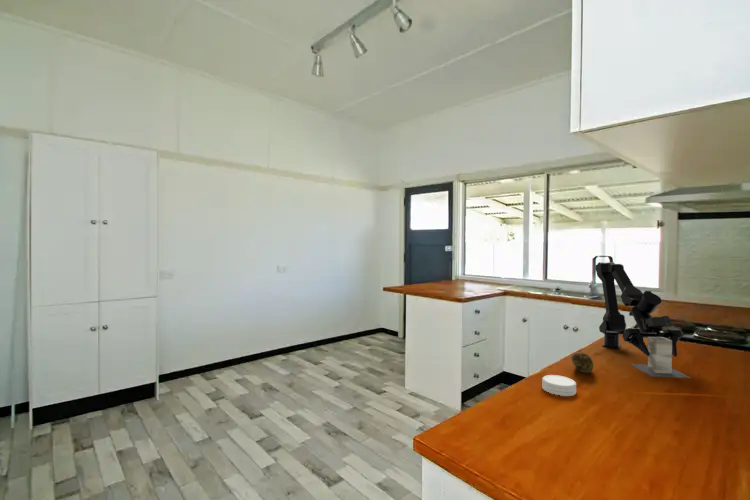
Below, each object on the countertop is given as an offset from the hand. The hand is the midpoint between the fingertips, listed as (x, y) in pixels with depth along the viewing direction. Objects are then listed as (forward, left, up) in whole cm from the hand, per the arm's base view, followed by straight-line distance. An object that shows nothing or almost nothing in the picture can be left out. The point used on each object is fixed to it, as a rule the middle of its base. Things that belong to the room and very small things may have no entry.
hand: (662, 355), depth 132 cm
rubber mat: (-1, -1, -7) cm, 7 cm away
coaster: (+40, -26, -7) cm, 48 cm away
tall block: (-1, -1, -6) cm, 6 cm away
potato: (+17, -23, -7) cm, 29 cm away
